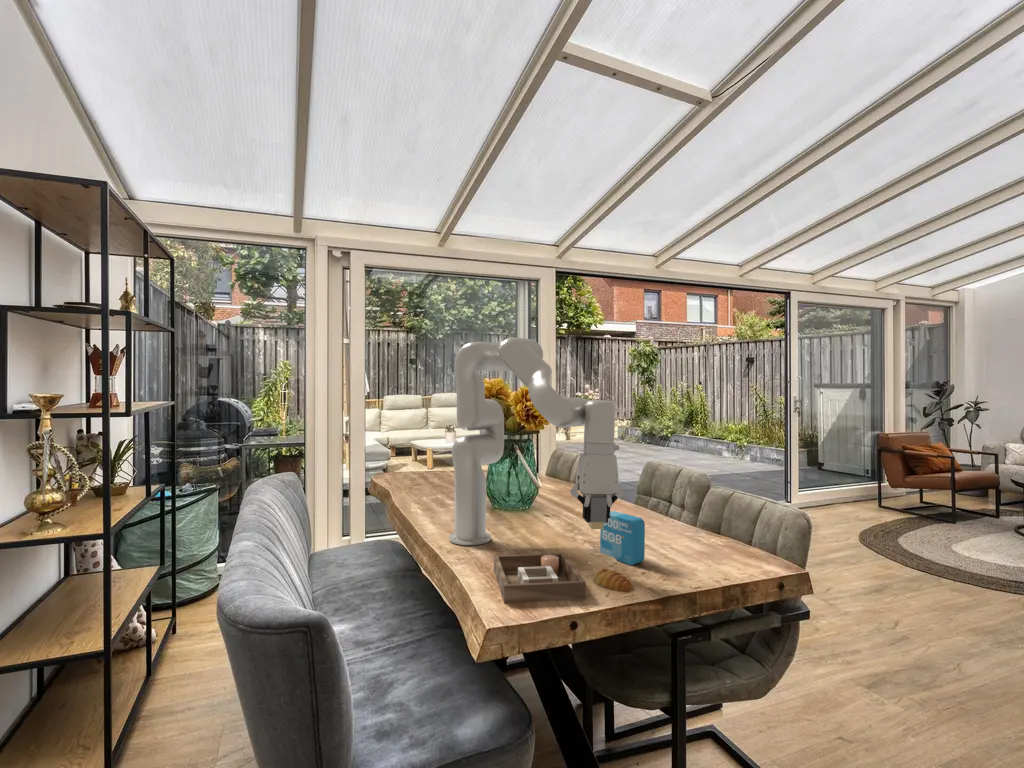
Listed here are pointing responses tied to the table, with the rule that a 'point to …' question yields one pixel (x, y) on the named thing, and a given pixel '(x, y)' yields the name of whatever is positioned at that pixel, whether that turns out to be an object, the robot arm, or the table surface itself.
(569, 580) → the crate
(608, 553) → the data package
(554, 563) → the ball
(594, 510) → the gray block
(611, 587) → the pastry
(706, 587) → the table surface
